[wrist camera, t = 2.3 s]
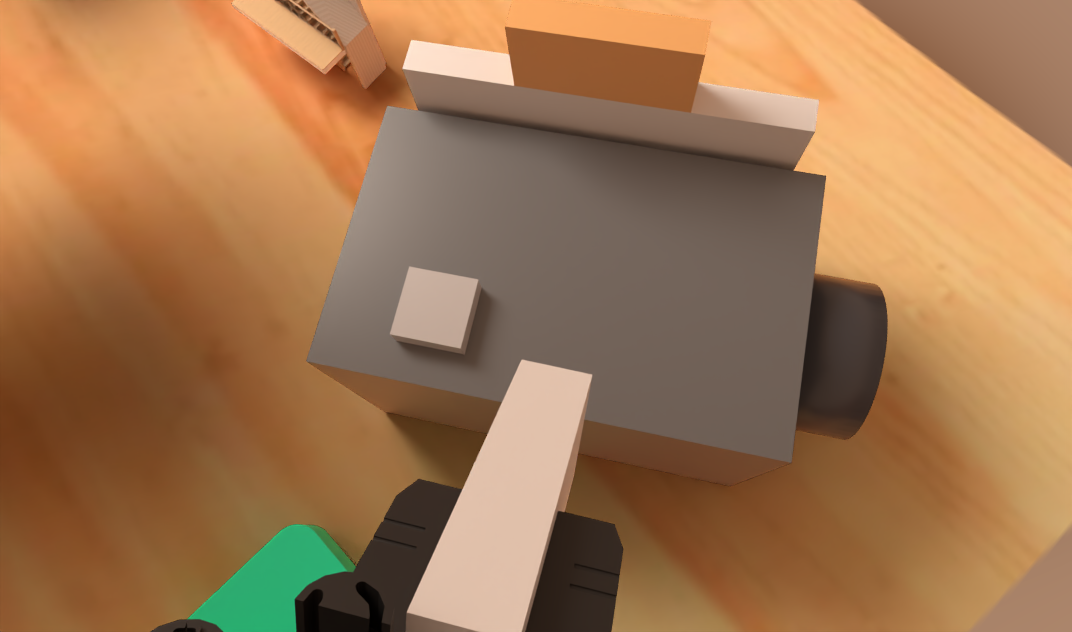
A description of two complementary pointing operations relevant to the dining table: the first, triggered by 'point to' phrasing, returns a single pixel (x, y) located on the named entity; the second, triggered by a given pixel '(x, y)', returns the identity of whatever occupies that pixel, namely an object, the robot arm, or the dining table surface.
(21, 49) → the dining table surface
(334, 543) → the camera mount
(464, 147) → the camera body
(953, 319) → the dining table surface
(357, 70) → the architectural model
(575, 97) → the side door
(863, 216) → the dining table surface
